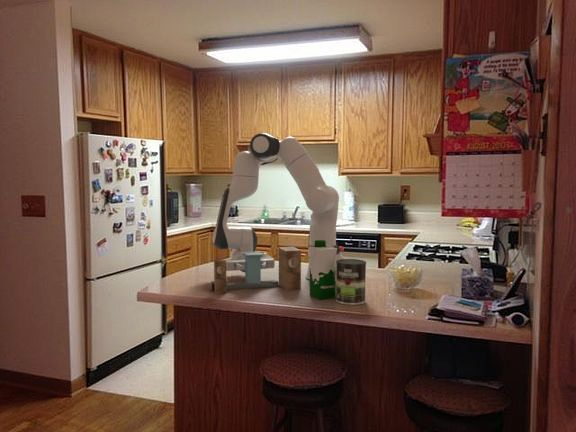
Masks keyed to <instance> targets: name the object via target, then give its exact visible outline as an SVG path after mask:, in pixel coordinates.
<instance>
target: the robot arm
mask: <svg viewBox="0 0 576 432" xmlns="http://www.w3.org/2000/svg"><path fill="white" fill-rule="evenodd" d="M277 160H280V161H281V163H282V164H283V165H284V167H285V168H286V169H287V171H288V173H289V174H290V175H291V178H292V179H293V180H294V182H295V183H296V186H297V188H298V189H299V191H300V194H301V196H302V198H303V200H304V201H305V205H306V207H307V208H308V209H309V211H311V212H312V214H311V219H310V220H311V221H310V224H309V244H308V249H307V250H308V251H307V252H308V253H307V255H308V265H307V270H306V271H307V272H306V275H305V279H306V280H309V281H310V254H309V247H310V246H315V241H316V240H324V241H326V245H328V246H331V247H334V248H337V253H336V259H335V283H336V272H337V264H336V261H337V260H340V259H347V258H346V257H345V256H343V255H342V254H341V252H344V246H341V245H340V246H339V245H337V242H336V241H337V220H338V214H339V201H340V196H339V195H340V194H339V193H338V191H337V190H336V188H335V187H333V186H330V185H327V184H326V182H325V180H324V178H323V176H322V174H321V172H320V169H319V167H318V165H317V164H316V163H315V162H314V160H313V158H312V157H311V156H310V154H309V153H308V151H307V149H305V147H304V146H303V144H301V143H300V142H299V140H297V138H296V137H294V136H293V137H292V136H288V137H284V138H283V139H281V140H279V138H277V137H275V136H273V135H271V134H269V133H266V132H265V133H264V132H258V133H257V134H255V135H253V137H252V138H251V139H250V142H249V150H242V151H239V152H238V153H237V155H236V156H235V160H234V165H233V170H232V180H231V183H230V185H229V186H228V187H227V188H225V189H224V191H223V195H222V198H221V201H220V202H221V203H220V206H219V210H218V215H217V220H216V223H215V227H214V230H213V233H212V244H213V245H214V247H215V248H216V249H218V250H220V251H221V250H223V251H224V250H231V252H230V258H227V259H224V260H225V261H226V272H228V271H229V272H230V271H231V272H232V271H240V272H242V273H245V256H244V253H250V252H256V250H257V247H258V234H257V233H256V231H255V229H254V228H253V227H252V226H230V225H227V224H228V219H229V215H230V210H231V207H232V205H233V204H234V203H237V202H239V201H241V200H245V199H248V198H250V197H251V196H253V195H254V194H255V193H256V192H257V191H258V187H259V180H260V179H259V176H260V174H259V171H260V167H261V166H264V165H267V164H271V163H273V162H276V161H277ZM260 253H261V254H262V257H261V270H266V269H274V268H275V266H276V264H275V262H276V261H275V259H274V258H273V256H270V255H268V254H267V252H260Z"/></svg>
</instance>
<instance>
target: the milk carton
mask: <svg viewBox="0 0 576 432" xmlns="http://www.w3.org/2000/svg"><path fill="white" fill-rule="evenodd" d="M308 249H309V254H310V280H309V296H310V297H313V298H315V299H316V300H325V299H334V298H335V299H336V282H335V259H336V253H337V248H334V247H331V246H328V245H326V241H324V240H316V241H315V246H310V247H309V246H308Z"/></svg>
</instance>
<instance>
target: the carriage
mask: <svg viewBox="0 0 576 432" xmlns="http://www.w3.org/2000/svg"><path fill="white" fill-rule="evenodd" d="M261 253H262V252H259V251H255V252H250V253H244V256H245V272H244V277H245V278H244V282H247V283H261V281H262V278H261V275H262V274H261V273H262V272H261V271H262V269H261V257H262V254H261Z"/></svg>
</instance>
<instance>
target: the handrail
mask: <svg viewBox="0 0 576 432" xmlns="http://www.w3.org/2000/svg"><path fill="white" fill-rule="evenodd" d="M271 287H272V288H273V287H279V280H278V279H275V280H274V279H273V280H271V279H270V280H261V283H247V282H246V281H244V282H226V289H227V291H230V290H231V291H232V290H243V289H244V290H245V289H257V288H259V289H260V288H271ZM210 291H211V292H214V280H213V281H212V280H211V281H210Z"/></svg>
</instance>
